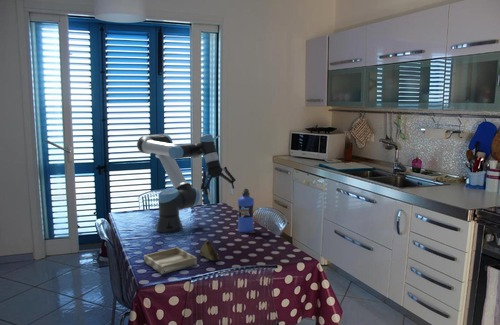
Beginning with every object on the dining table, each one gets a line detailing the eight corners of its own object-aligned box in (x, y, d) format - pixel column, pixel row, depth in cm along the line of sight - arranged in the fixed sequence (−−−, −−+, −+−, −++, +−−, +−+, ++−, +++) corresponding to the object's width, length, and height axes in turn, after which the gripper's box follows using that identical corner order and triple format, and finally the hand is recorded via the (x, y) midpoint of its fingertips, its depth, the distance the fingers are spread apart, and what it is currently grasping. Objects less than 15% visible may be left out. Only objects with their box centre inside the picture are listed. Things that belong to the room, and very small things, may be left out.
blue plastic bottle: (252, 233, 244) (252, 191, 240) (236, 232, 246) (236, 190, 242) (255, 228, 253) (255, 187, 249) (239, 227, 255) (239, 187, 251)
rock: (193, 250, 210) (197, 254, 200) (203, 235, 211) (207, 239, 201) (211, 261, 212) (215, 266, 203) (221, 247, 213) (225, 251, 204)
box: (144, 262, 200) (143, 255, 200) (177, 253, 211) (177, 246, 211) (161, 274, 186) (161, 266, 186) (196, 264, 198) (196, 257, 197)
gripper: (192, 165, 231) (201, 202, 229) (234, 155, 239) (244, 191, 236) (190, 167, 238) (199, 203, 236) (231, 157, 246) (240, 193, 244)
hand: (221, 197), depth 236 cm, fingers open, 13 cm apart
